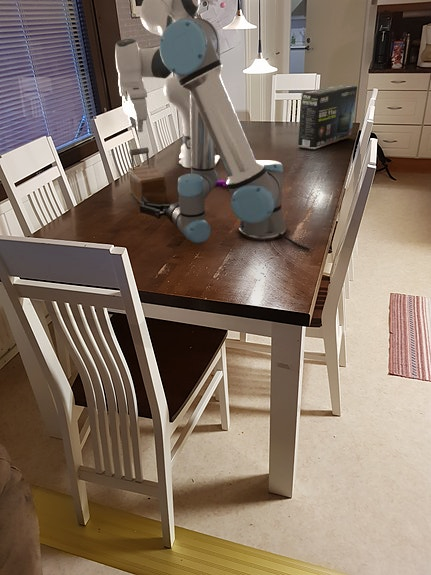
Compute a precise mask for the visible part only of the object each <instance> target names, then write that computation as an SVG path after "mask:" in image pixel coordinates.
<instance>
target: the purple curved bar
mask: <svg viewBox="0 0 431 575" xmlns="http://www.w3.org/2000/svg"><path fill="white" fill-rule="evenodd" d="M226 180H227V178H226V179H224V180H223V179H222V180H221V179H220V180H219V179H218V181H217V183H216V186H223V187H226V188H228V187H227V185H226Z"/></svg>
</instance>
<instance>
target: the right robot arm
mask: <svg viewBox="0 0 431 575" xmlns="http://www.w3.org/2000/svg"><path fill="white" fill-rule="evenodd" d="M159 46H160V55H161V58H162V61H163V63H164V64H165V66H166V67H167V68H168V69H169V70H170V71H171V72H172V74H174V75H175V77H177V79H178V81H179V83H180V85H181V87H182V88H185V89H187V90H189V91H190V139H191V168H190V173H185V174H183V175H181V176H179V177H178V179H177V190H176V192H177V198H178V201H176V202H174V203H169V204H167V203H162V204H150V203H149V202H148V201H147V200H146V199H145V198H144V197H143V196H141V200H142V202H141V203H140V204H139V212H140V213H142V214H145V215H149V216H151V217H154V218H156V219H158V220H159V219H161V216H165V217H167V218H168V220H169V221H170V222H171V224H173V225H174V226H175V228H177V229H178V231H180V232H181V233H182V235H183V236H184V237H185V238H186V239H187V240H188V241H190V242H192V243H193V244H201V243H205V241H207V240H209V238H210V235H211V231H212V229H211V225H210V224H209V222H208V221H207V219H206V208H205V207H206V206H205V205H206V204H205V201H206V198H207V197H208V196H209V195H210V193H211V192H212V191H213V190H214V189H215V187H216V186H217V185H216V183H217V181H218V180H219V175H218V172H217V171H216V166H215V155H216V153H217V155H219V156H220V161H221V163H222V166H223V168H224V170H225V171H226V174H227V177H226V179H227V180H226V185H227V187H226V188H227V189H228V191H229V193H230V196H231V199H230V206H231V210H232V213H233V215H235V217H236V218H237V219H239V220H240V222H239V225H238V232H239V235H240V236H241V237H242V238H244V239H247V240H250V241H254V242H271V241H277V240H279V239H281V238H283V239H284V240H286V241H287V242H289V243H291V244H292V245H293V246H296V247H298V248H301V249H303V250H306V251H309V250H310V247H307V246H305V245H302V244H300V243H297V242H296V241H294V240H292V239H291V238H290V237H288V236H286V234H287V223H286V221H285V216H284V214H283V210H282V200H283V178H284V177H283V176H284V168H283V167H284V166H283V164H282V163H281V162H280V161H277V160H270V159H256V158H255V155H254V152H253V150H252V147H251V145H250V143H249V141H248V139H247V136H246V133H245V131H244V129H243V127H242V125H241V122H240V120H239V118H238V115H237V112H236V111H235V107H234V106H233V104H232V101H231V99H230V96H229V93H228V91H227V89H226V87H225V85H224V82H223V80H222V77H221V71H222V68H223V64H222V63H221V62H222V61H221V39H220V35H219V32H218V30H217V29H216V27H215V26H214V25H213V24H212V23H211V22H210V21H209V20H207V19H205V18H202V17H196V18H193V19H187V18H184V19H180V20H178V21H173V23H171V24H170V25H169V26H168V27H167V28H166V29H165V31H164V32H163V34H162V36H160V41H159ZM215 147H216V148H215ZM141 204H142V205H141Z"/></svg>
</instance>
